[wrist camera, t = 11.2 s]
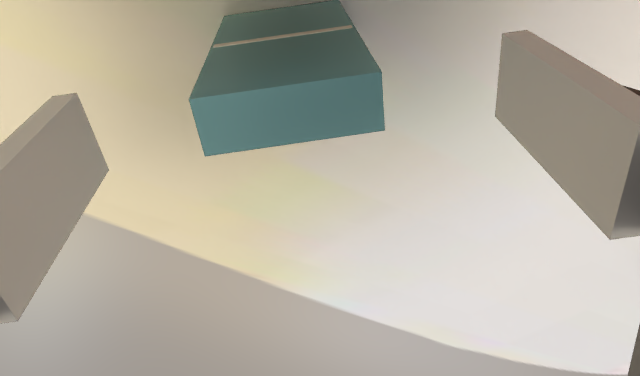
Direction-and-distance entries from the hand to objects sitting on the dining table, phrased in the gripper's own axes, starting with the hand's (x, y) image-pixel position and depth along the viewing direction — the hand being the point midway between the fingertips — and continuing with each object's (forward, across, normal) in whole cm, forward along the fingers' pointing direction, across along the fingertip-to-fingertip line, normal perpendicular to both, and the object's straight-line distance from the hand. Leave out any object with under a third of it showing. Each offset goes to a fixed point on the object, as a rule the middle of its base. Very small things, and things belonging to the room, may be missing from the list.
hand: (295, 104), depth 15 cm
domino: (+12, 0, 0) cm, 12 cm away
